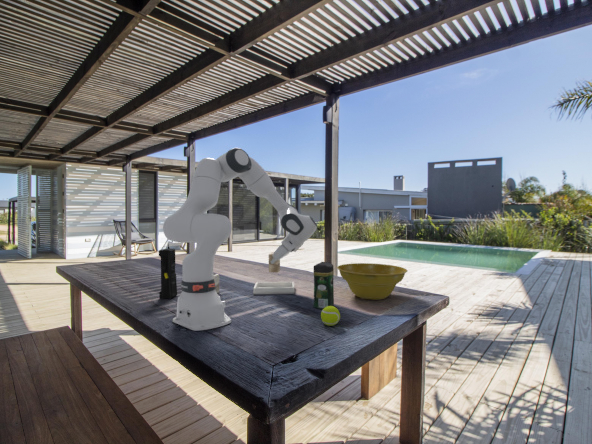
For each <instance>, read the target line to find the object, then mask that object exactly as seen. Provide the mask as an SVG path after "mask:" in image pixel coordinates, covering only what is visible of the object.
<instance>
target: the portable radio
mask: <svg viewBox="0 0 592 444" xmlns="http://www.w3.org/2000/svg"><path fill="white" fill-rule="evenodd" d="M158 256H159V257H160V291H159V293H158V294H159V295H158V296H159V299H161V300H171V299H173V298H175V297H176V296H177V295H178V289H177V288H178V287H177V285H178V284H177V273H176V249H175V248H170V244H169V243H167V248H163V249H159V250H158Z"/></svg>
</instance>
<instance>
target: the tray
mask: <svg viewBox="0 0 592 444" xmlns="http://www.w3.org/2000/svg"><path fill="white" fill-rule="evenodd" d="M295 289H296V288H295V281H256V282H255V284H254V287H253V293H252V294H253V295H295V291H296V290H295Z"/></svg>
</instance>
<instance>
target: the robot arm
mask: <svg viewBox="0 0 592 444" xmlns="http://www.w3.org/2000/svg"><path fill="white" fill-rule="evenodd" d="M236 178H239V179H240V180H242V183H244V185H245V186H246V187H247V189H249V191H250V192H251V193H252V194H254V196H256V197H259V198H263V199H266V200H267V201H268V202H269V203H270V204H271V205H272V207H274V209H275V210H276V211H277V213H278V218H279V222H280V226H281V228H282V229H283V230H284V231H286V232H287V235H286V236H285V237H284V238H283V240H282V241H281V242H280V245H279V246H277V248H276V250H275V251H274V252H272V253H273V255H272V256H273V259H272V260H271V261H270V263H271V264H274V263H275V261H277V260H279V259H280V260H281V259H283V258H284V257H286V256H288V255H289V254H290V253H293V252H294V253H296V252H297V251H298V250H299V249H300V248H301V247H303V244H304V243H305V242H306V241H307V240H309V239H310V238H311V237H312V236H313V235H314V233H315V232H316V230H317V229H318V225H317V223H316V221H315V220H314V218H313V217H312V216H310V215H304V214H300V213H299V211H298V209H297V208H296V207H295V206H293V205H291V204H290V203H288V202H287V201H286V200H285V198H283V197H282V195H281V194H280V193H279V192H278V190H277V189H276V186H275V184H274V183H273V182H274V181H272V179H271V177H270V175H269V174H268V173H267V172H266V170H265V169H264V168H263V167H262V165H260V163H258V162H257V160H255V159H254V158H252V157H251V156H249V154H248V153H247V152H246V151H245V150H244V149H242V148H240V147H233V148H231V149H229V150H227V152H224V153H223V154H221V155H220V156H218V157H217V158H216V159H215V158H213V157H212V158H211V157H204V158H202V159H200V160H199V161H198V163H197V165H196V167H195V171H194V173H193V176H192V179H191V180H192V181H191V185H190V188H189V192H188V195H187V198H186V200H184V202H183V204H182V205H181V206H180V208H178V210H176V211H175V212H174V213H172V214H171V215H168V216H167V217H166V218H165V220H164V222H163V225H162V231H163V234H164V236H165V238H166V239H167V240H169V241H172V242H176V243H187V244H188V243H196V247H195V249H194V251H191V253H189V254H187V255H185V256H184V258H183V260H182V263H181V265H182V267H181V268H182V269H181V270H182V272H181V273H182V280H181V282H180V283H181V284H180V287H181V293H180V295H178V297H177V305H176V316H175V317H173V318H172V323H174V324H176V325H177V324H178V326H179V325H180V326H181V327H183V328H187V329H189V330H192V331H195V332H196V331H197V332H198V331H207V330H211V329H216V328H219V327H220V328H221V327H224V326H226V325H228V324H231V323H232V319H231V317H230V316H228V315H227V313H226V312H225V308H226V301H225V300H222V299H221V296H220V295H219V294H218V293H217V292H216V290H215V289H216V286H215V280H214V278H213V274H214V266H215V265H214V263H215V256H216V253H217V252H218V249H219V248H220V246H221V245H222V244H223V243H225V242H226V241H227V240H228V239H229V238H230V236H231V234H232V229H233V228H232V222H231V220H230V219H229V218H228V216H226V215H223V214H219V213H218V214H217V213H206V212H208V211H209V210H211V209H213V208H215V206H216V205H217V204H218V201H219V196H220V192H221V191H220V190H221V186H222V185H224V184H227V183H229V182H230V181H232V180H233V179H236Z"/></svg>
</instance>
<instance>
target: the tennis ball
mask: <svg viewBox="0 0 592 444" xmlns="http://www.w3.org/2000/svg"><path fill="white" fill-rule="evenodd" d="M320 319H321V322H322V323H323V324H324V325H325V326H329V327H334V326H336V325H337V324H339V321H340V319H341V313H340V311H339V309H338V308H337V307H335V306H334V305H333V306H327V307H325V308H324V309H321V312H320Z"/></svg>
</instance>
